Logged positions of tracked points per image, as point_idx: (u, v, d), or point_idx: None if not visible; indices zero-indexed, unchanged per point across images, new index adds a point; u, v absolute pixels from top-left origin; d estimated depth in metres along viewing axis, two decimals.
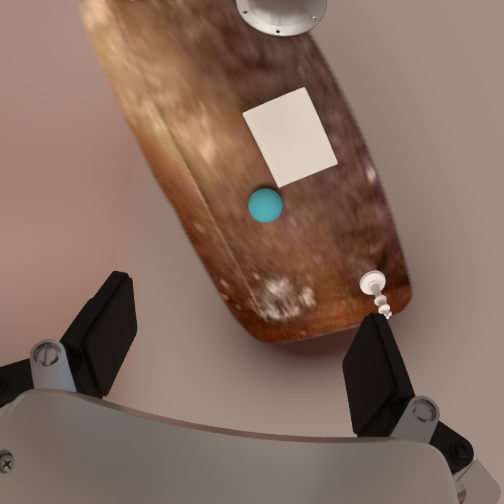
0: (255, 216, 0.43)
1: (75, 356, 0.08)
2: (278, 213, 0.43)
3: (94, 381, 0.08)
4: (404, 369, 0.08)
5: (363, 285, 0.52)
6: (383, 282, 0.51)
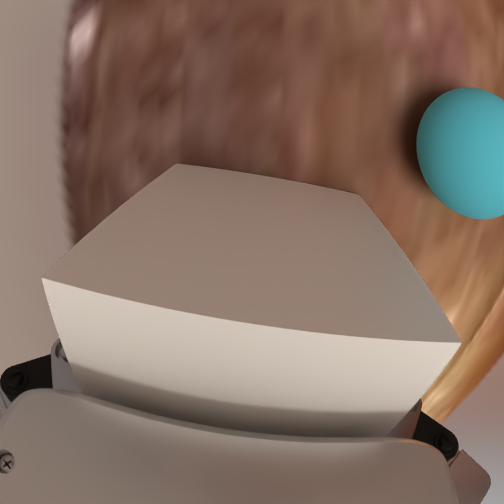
0: None
1: None
2: (478, 108, 0.07)
3: None
4: None
5: None
6: None
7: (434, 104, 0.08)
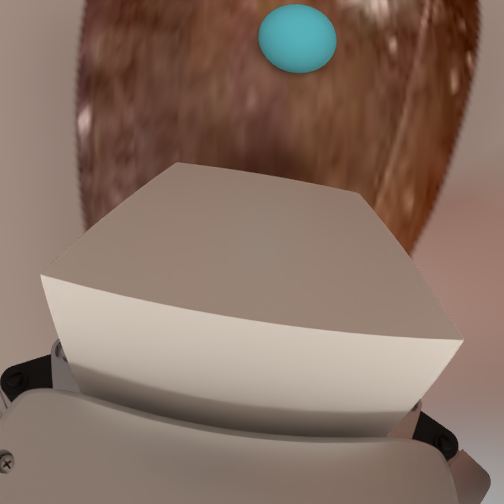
0: None
1: None
2: (270, 61, 0.17)
3: None
4: None
5: None
6: None
7: (260, 38, 0.15)
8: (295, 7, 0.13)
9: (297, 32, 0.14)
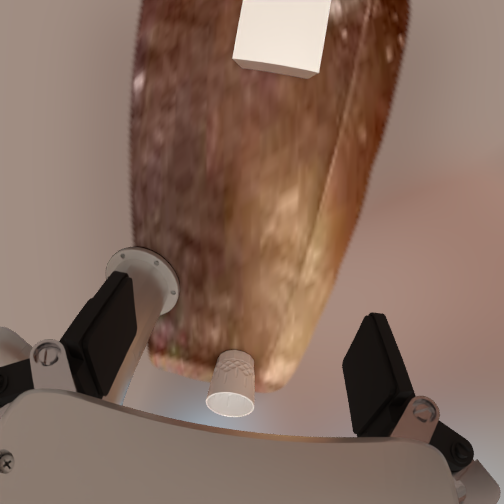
0: None
1: (75, 356, 0.08)
2: None
3: (94, 381, 0.08)
4: (404, 369, 0.08)
5: None
6: None
7: None
8: None
9: None
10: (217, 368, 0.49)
